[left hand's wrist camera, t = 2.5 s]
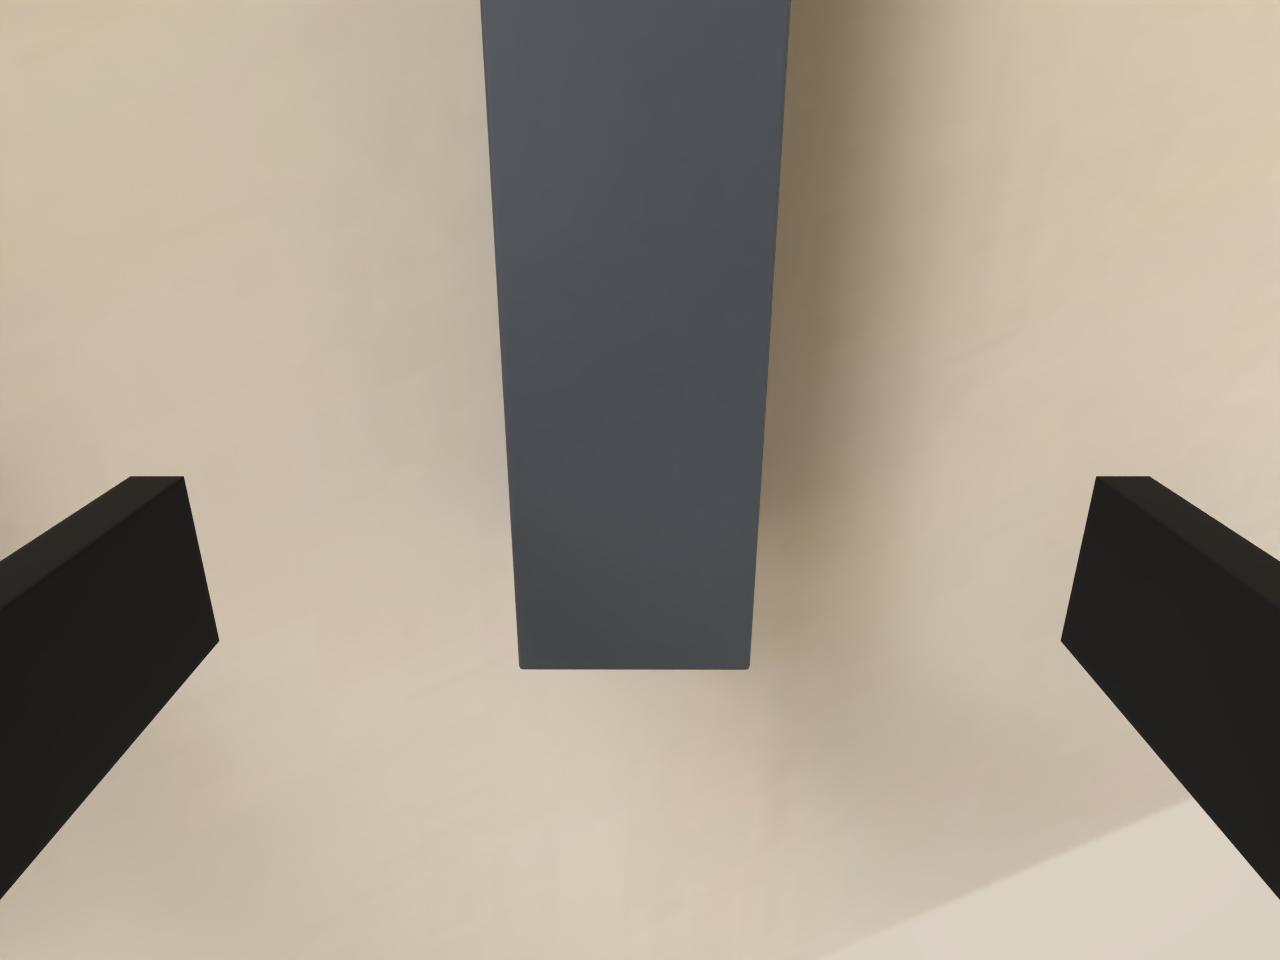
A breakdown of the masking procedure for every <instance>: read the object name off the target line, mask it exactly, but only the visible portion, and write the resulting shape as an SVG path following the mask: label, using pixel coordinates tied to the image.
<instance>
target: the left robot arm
mask: <svg viewBox="0 0 1280 960" xmlns="http://www.w3.org/2000/svg"><path fill="white" fill-rule="evenodd" d="M218 642H219V637H218V633H217V628H216V623H215V619H214V614H213V609H212V605H211V600H210V596H209V591H208V586H207V582H206V577H205V572H204V568H203V563H202V559H201V554H200V549H199V545H198V540H197V535H196V531H195V526H194V522H193V517H192V512H191V508H190V503H189V498H188V494H187V489H186V485H185V480H184V476H130V477H129V478H127V479H126V480H124V481H123V482H121V483H120V484H118V485H117V486H115V487H114V488H112V489H110V490H109V491H107V492H106V493H104V494H103V495H101V496H100V497H98V498H97V499H95V500H94V501H92V502H91V503H89V504H87V505H86V506H84V507H83V508H81V509H80V510H78V511H77V512H75V513H74V514H72V515H71V516H69V517H68V518H66V519H64V520H63V521H61V522H60V523H58V524H57V525H55V526H54V527H52V528H51V529H49V530H48V531H46V532H45V533H43V534H42V535H40V536H38V537H37V538H35V539H34V540H32V541H31V542H29V543H28V544H26V545H25V546H23V547H22V548H20V549H19V550H17V551H15V552H14V553H12V554H11V555H9V556H8V557H6V558H5V559H3V560H2V561H0V899H1V898H2V897H3V896H4V895H5V893H6V892H7V891H8V890H9V889H10V887H11V886H12V885H13V884H14V883H15V882H16V880H17V879H18V878H19V877H20V876H21V874H22V873H23V872H24V871H25V870H26V869H27V867H28V866H29V865H30V864H31V863H32V861H33V860H34V859H35V858H36V857H37V856H38V854H39V853H40V852H41V851H42V850H43V848H44V847H45V846H46V845H47V844H48V843H49V841H50V840H51V839H52V838H53V837H54V835H55V834H56V833H57V832H58V831H59V830H60V828H61V827H62V826H63V825H64V824H65V823H66V821H67V820H68V819H69V818H70V817H71V815H72V814H73V813H74V812H75V811H76V810H77V808H78V807H79V806H80V805H81V804H82V802H83V801H84V800H85V799H86V798H87V797H88V795H89V794H90V793H91V792H92V791H93V789H94V788H95V787H96V786H97V785H98V784H99V782H100V781H101V780H102V779H103V778H104V776H105V775H106V774H107V773H108V772H109V771H110V769H111V768H112V767H113V766H114V765H115V763H116V762H117V761H118V760H119V759H120V758H121V756H122V755H123V754H124V753H125V752H126V750H127V749H128V748H129V747H130V746H131V745H132V743H133V742H134V741H135V740H136V739H137V737H138V736H139V735H140V734H141V733H142V732H143V730H144V729H145V728H146V727H147V726H148V724H149V723H150V722H151V721H152V720H153V719H154V717H155V716H156V715H157V714H158V713H159V711H160V710H161V709H162V708H163V707H164V706H165V704H166V703H167V702H168V701H169V700H170V698H171V697H172V696H173V695H174V694H175V693H176V691H177V690H178V689H179V688H180V687H181V685H182V684H183V683H184V682H185V681H186V680H187V678H188V677H189V676H190V675H191V674H192V672H193V671H194V670H195V669H196V668H197V667H198V665H199V664H200V663H201V662H202V661H203V659H204V658H205V657H206V656H207V655H208V654H209V652H210V651H211V650H212V649H213V648H214V646H215V645H216V644H217V643H218ZM1061 642H1062V643H1063V644H1064V645H1065V646H1066V648H1067V649H1068V650H1069V651H1070V652H1071V654H1072V655H1073V656H1074V657H1075V658H1076V659H1077V661H1078V662H1079V663H1080V664H1081V665H1082V667H1083V668H1084V669H1085V670H1086V671H1087V672H1088V674H1089V675H1090V676H1091V677H1092V678H1093V680H1094V681H1095V682H1096V683H1097V684H1098V685H1099V687H1100V688H1101V689H1102V690H1103V691H1104V693H1105V694H1106V695H1107V696H1108V697H1109V698H1110V700H1111V701H1112V702H1113V703H1114V704H1115V706H1116V707H1117V708H1118V709H1119V710H1120V711H1121V713H1122V714H1123V715H1124V716H1125V717H1126V719H1127V720H1128V721H1129V722H1130V723H1131V724H1132V726H1133V727H1134V728H1135V729H1136V730H1137V732H1138V733H1139V734H1140V735H1141V736H1142V737H1143V739H1144V740H1145V741H1146V742H1147V743H1148V745H1149V746H1150V747H1151V748H1152V749H1153V750H1154V752H1155V753H1156V754H1157V755H1158V756H1159V758H1160V759H1161V760H1162V761H1163V762H1164V763H1165V765H1166V766H1167V767H1168V768H1169V769H1170V771H1171V772H1172V773H1173V774H1174V775H1175V776H1176V778H1177V779H1178V780H1179V781H1180V782H1181V784H1182V785H1183V786H1184V787H1185V788H1186V789H1187V791H1188V792H1189V793H1190V794H1191V795H1192V797H1193V798H1194V799H1195V800H1196V801H1197V802H1198V804H1199V805H1200V806H1201V807H1202V808H1203V809H1204V811H1205V812H1206V813H1207V814H1208V815H1209V817H1210V818H1211V819H1212V820H1213V821H1214V823H1215V824H1216V825H1217V826H1218V827H1219V828H1220V830H1221V831H1222V832H1223V833H1224V834H1225V835H1226V837H1227V838H1228V839H1229V840H1230V841H1231V843H1232V844H1233V845H1234V846H1235V847H1236V848H1237V850H1238V851H1239V852H1240V853H1241V854H1242V856H1243V857H1244V858H1245V859H1246V860H1247V861H1248V863H1249V864H1250V865H1251V866H1252V867H1253V869H1254V870H1255V871H1256V872H1257V873H1258V874H1259V876H1260V877H1261V878H1262V879H1263V880H1264V882H1265V883H1266V884H1267V885H1268V886H1269V887H1270V889H1271V890H1272V891H1273V892H1274V893H1275V895H1276V896H1277V897H1278V898H1279V899H1280V561H1278V560H1277V559H1275V558H1274V557H1272V556H1271V555H1269V554H1268V553H1266V552H1265V551H1263V550H1261V549H1260V548H1258V547H1257V546H1255V545H1254V544H1252V543H1251V542H1249V541H1248V540H1246V539H1245V538H1243V537H1242V536H1240V535H1238V534H1237V533H1235V532H1234V531H1232V530H1231V529H1229V528H1228V527H1226V526H1225V525H1223V524H1222V523H1220V522H1219V521H1217V520H1216V519H1214V518H1212V517H1211V516H1209V515H1208V514H1206V513H1205V512H1203V511H1202V510H1200V509H1199V508H1197V507H1196V506H1194V505H1193V504H1191V503H1189V502H1188V501H1186V500H1185V499H1183V498H1182V497H1180V496H1179V495H1177V494H1176V493H1174V492H1173V491H1171V490H1170V489H1168V488H1166V487H1165V486H1163V485H1162V484H1160V483H1159V482H1157V481H1156V480H1154V479H1153V478H1151V477H1150V476H1096V480H1095V485H1094V489H1093V494H1092V498H1091V503H1090V508H1089V512H1088V517H1087V522H1086V526H1085V531H1084V535H1083V540H1082V545H1081V549H1080V554H1079V559H1078V563H1077V568H1076V572H1075V577H1074V582H1073V586H1072V591H1071V596H1070V600H1069V605H1068V609H1067V614H1066V619H1065V623H1064V628H1063V633H1062V637H1061Z"/></svg>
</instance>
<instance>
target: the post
mask: <svg viewBox="0 0 1280 960" xmlns="http://www.w3.org/2000/svg"><path fill="white" fill-rule="evenodd" d="M790 3H791V0H480V4H481V21H482V38H483V55H484V72H485V90H486V107H487V124H488V141H489V158H490V175H491V192H492V209H493V226H494V243H495V260H496V277H497V295H498V312H499V329H500V346H501V363H502V380H503V397H504V414H505V431H506V448H507V465H508V482H509V500H510V517H511V534H512V551H513V568H514V585H515V602H516V619H517V636H518V653H519V666H520V668H521V669H696V670H746V669H748V668H749V666H750V651H751V635H752V619H753V603H754V587H755V570H756V554H757V538H758V522H759V505H760V489H761V473H762V457H763V441H764V424H765V408H766V392H767V376H768V359H769V343H770V327H771V311H772V295H773V278H774V262H775V246H776V230H777V213H778V197H779V181H780V165H781V149H782V132H783V116H784V100H785V84H786V67H787V51H788V35H789V19H790Z"/></svg>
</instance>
